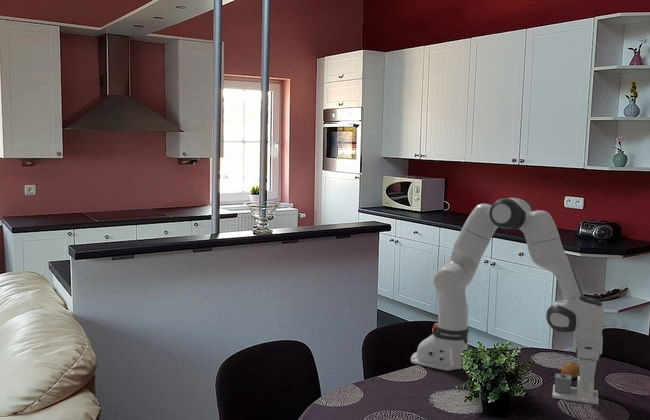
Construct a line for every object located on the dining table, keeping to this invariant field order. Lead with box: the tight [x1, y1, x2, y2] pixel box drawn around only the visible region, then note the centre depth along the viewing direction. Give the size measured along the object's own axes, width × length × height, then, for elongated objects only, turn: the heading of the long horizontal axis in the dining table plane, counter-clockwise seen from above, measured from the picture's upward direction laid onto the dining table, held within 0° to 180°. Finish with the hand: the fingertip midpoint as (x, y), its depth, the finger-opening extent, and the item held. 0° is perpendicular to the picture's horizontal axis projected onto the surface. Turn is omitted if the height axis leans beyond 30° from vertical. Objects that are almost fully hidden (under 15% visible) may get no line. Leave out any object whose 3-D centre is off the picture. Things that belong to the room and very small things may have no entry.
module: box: [576, 375, 595, 397], centre depth 205 cm, size 5×4×6 cm
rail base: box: [551, 372, 600, 406], centre depth 206 cm, size 14×10×7 cm
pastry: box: [560, 361, 580, 379], centre depth 226 cm, size 9×7×4 cm
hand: (585, 386), depth 205 cm, fingers open, 8 cm apart
